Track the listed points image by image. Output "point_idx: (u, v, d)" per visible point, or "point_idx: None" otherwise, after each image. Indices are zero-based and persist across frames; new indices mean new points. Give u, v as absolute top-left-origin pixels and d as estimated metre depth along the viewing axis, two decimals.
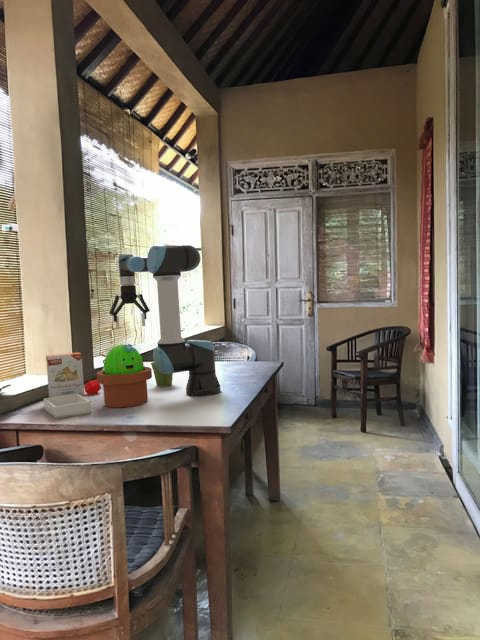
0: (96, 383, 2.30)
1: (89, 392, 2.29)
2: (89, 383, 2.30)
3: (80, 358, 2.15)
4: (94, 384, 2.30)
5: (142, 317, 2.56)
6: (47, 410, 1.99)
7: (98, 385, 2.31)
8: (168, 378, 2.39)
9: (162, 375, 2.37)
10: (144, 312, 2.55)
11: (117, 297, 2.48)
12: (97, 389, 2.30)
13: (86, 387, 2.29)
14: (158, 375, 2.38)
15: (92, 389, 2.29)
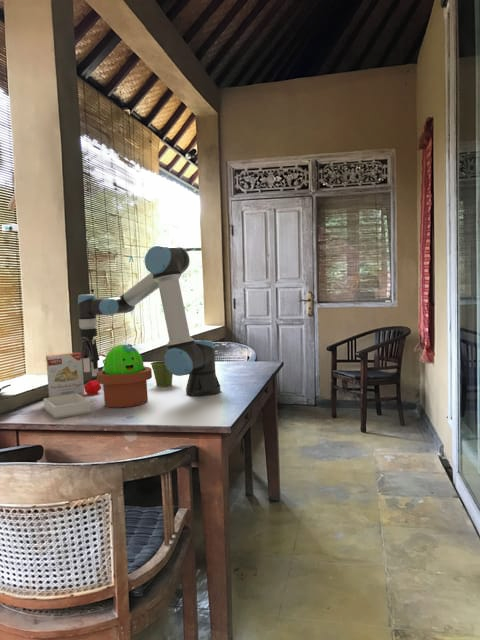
0: (96, 383, 2.30)
1: (89, 392, 2.29)
2: (89, 383, 2.30)
3: (80, 358, 2.15)
4: (94, 384, 2.30)
5: None
6: (47, 410, 1.99)
7: (98, 385, 2.31)
8: (168, 378, 2.39)
9: (162, 375, 2.37)
10: None
11: (82, 340, 2.35)
12: (97, 389, 2.30)
13: (86, 387, 2.29)
14: (158, 375, 2.38)
15: (92, 389, 2.29)
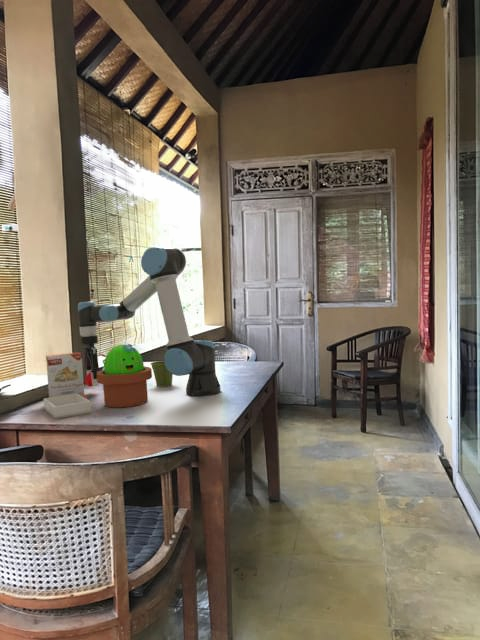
0: None
1: (89, 384, 2.29)
2: (89, 375, 2.29)
3: (80, 358, 2.15)
4: None
5: None
6: (47, 410, 1.99)
7: None
8: (168, 377, 2.39)
9: (162, 375, 2.37)
10: (91, 370, 2.27)
11: None
12: None
13: (86, 379, 2.29)
14: (158, 375, 2.38)
15: None
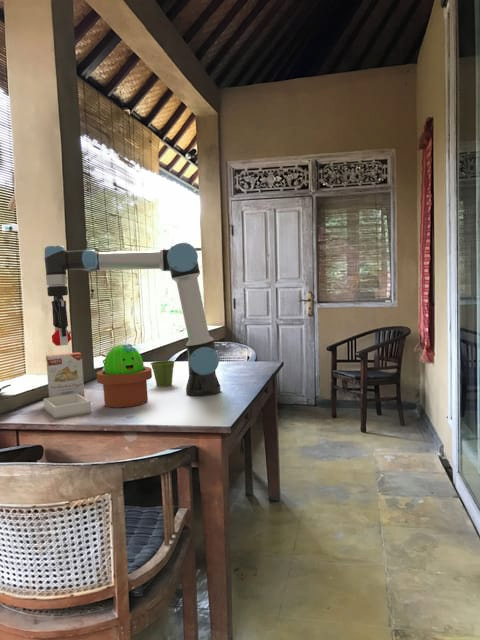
0: None
1: (57, 343, 1.95)
2: (57, 332, 1.96)
3: (80, 358, 2.15)
4: None
5: None
6: (47, 410, 1.99)
7: (68, 335, 1.96)
8: (168, 378, 2.39)
9: (162, 375, 2.37)
10: None
11: (52, 303, 2.01)
12: None
13: (53, 337, 1.95)
14: (158, 375, 2.38)
15: None
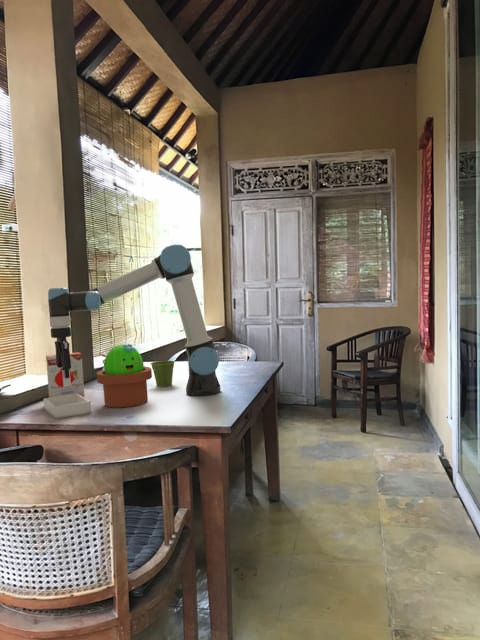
0: None
1: (60, 384, 1.96)
2: (60, 373, 1.97)
3: (80, 358, 2.15)
4: None
5: None
6: (47, 410, 1.99)
7: (71, 376, 1.98)
8: (168, 378, 2.39)
9: (162, 375, 2.37)
10: None
11: (55, 343, 2.02)
12: None
13: (56, 378, 1.96)
14: (158, 375, 2.38)
15: None
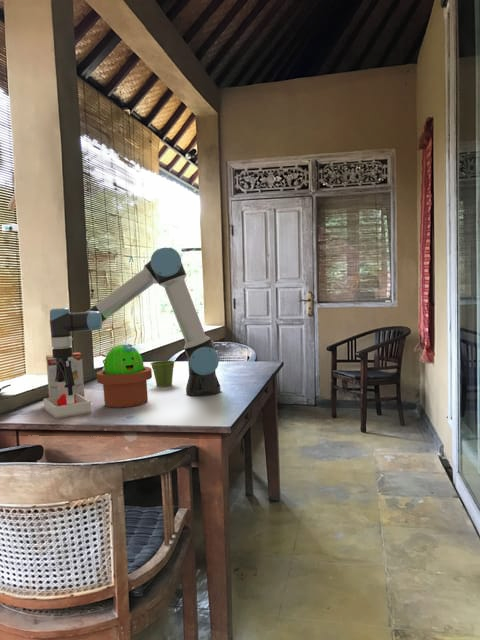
0: None
1: None
2: (62, 397, 1.97)
3: (80, 358, 2.15)
4: None
5: None
6: (47, 410, 1.99)
7: None
8: (168, 378, 2.39)
9: (162, 375, 2.37)
10: None
11: (56, 360, 2.03)
12: None
13: (59, 402, 1.97)
14: (158, 375, 2.38)
15: (66, 404, 1.96)
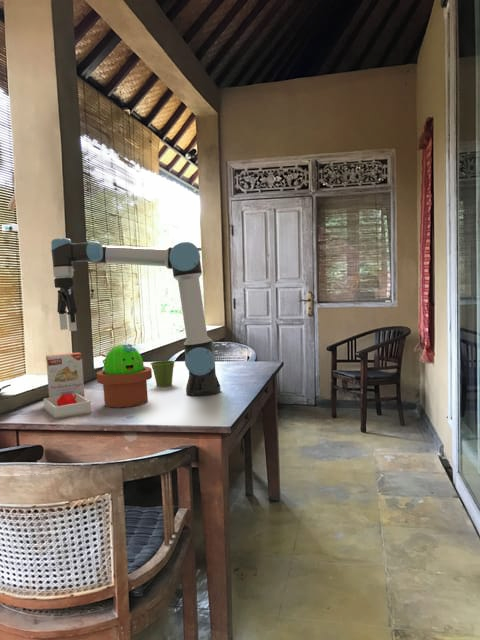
0: (71, 397, 1.98)
1: None
2: (62, 397, 1.97)
3: (80, 358, 2.15)
4: (68, 398, 1.97)
5: None
6: (47, 410, 1.99)
7: (73, 399, 1.98)
8: (168, 378, 2.39)
9: (162, 375, 2.37)
10: None
11: (58, 292, 2.06)
12: None
13: (59, 402, 1.97)
14: (158, 375, 2.38)
15: (66, 404, 1.96)
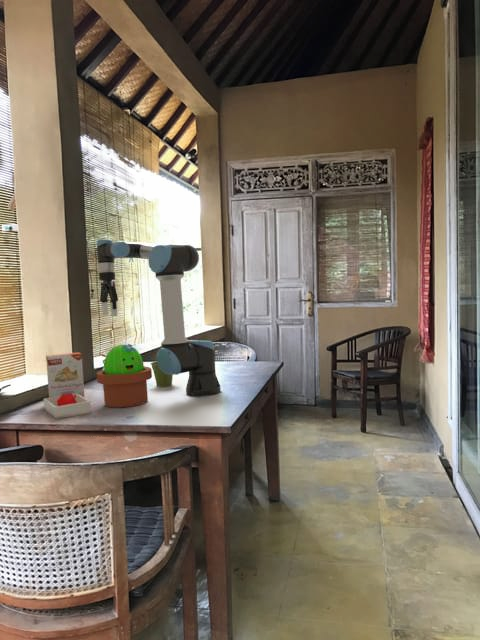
0: (71, 397, 1.98)
1: None
2: (62, 397, 1.97)
3: (80, 358, 2.15)
4: (68, 398, 1.97)
5: None
6: (47, 410, 1.99)
7: (73, 399, 1.98)
8: (168, 378, 2.39)
9: (162, 375, 2.37)
10: (111, 301, 2.36)
11: (101, 284, 2.47)
12: None
13: (59, 402, 1.97)
14: (158, 375, 2.38)
15: (66, 404, 1.96)
